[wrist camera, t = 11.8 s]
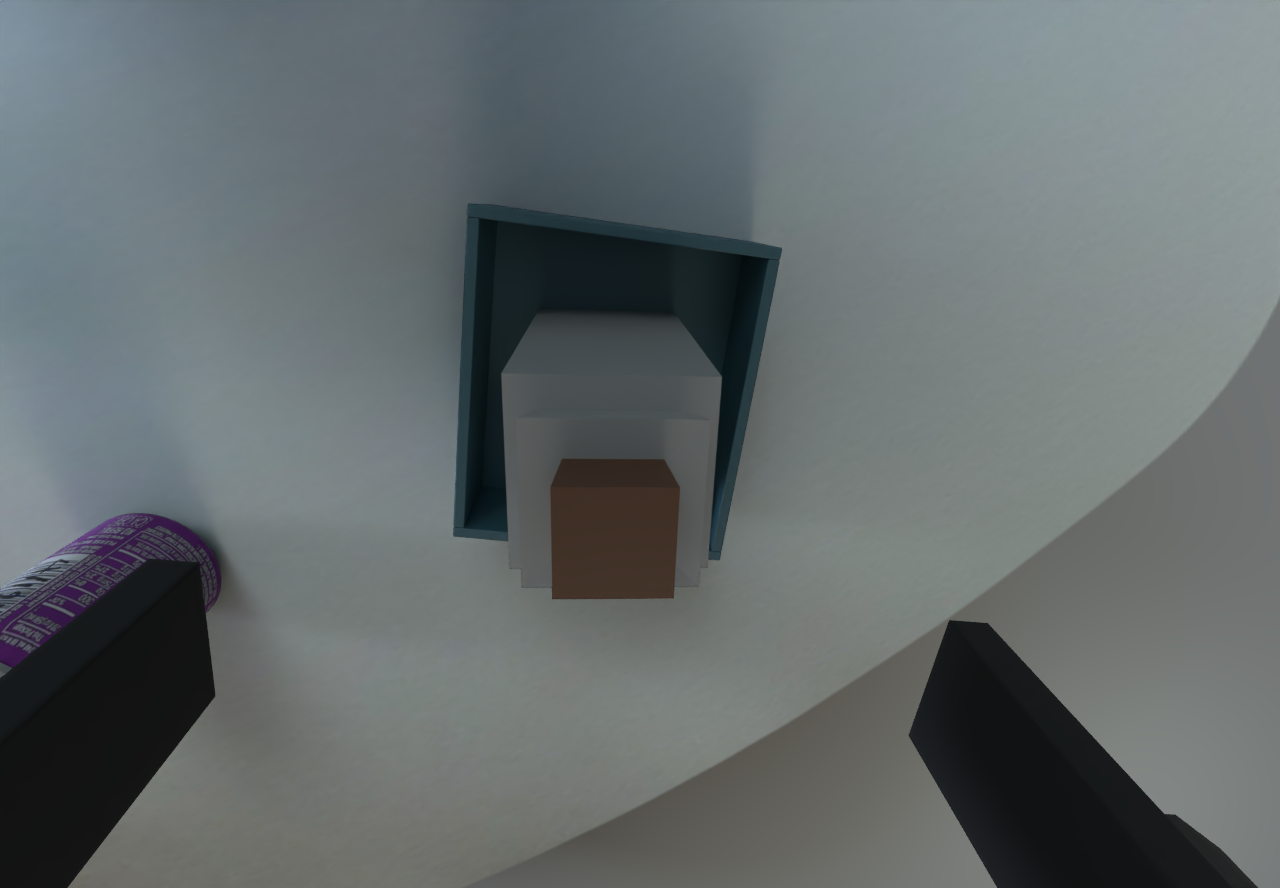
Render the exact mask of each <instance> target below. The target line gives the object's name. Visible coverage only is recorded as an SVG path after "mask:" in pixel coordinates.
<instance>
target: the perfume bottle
mask: <svg viewBox="0 0 1280 888" xmlns="http://www.w3.org/2000/svg"><path fill="white" fill-rule="evenodd" d="M501 379H502V402H503V426H504V449H505V472H506V496H507V519H508V542H509V565H510V569H521V580H522V588H552V599H647V598H674V587H699V578H700V568H707V567H708V554H709V541H710V528H711V515H712V502H713V489H714V476H715V463H716V450H717V437H718V424H719V411H720V398H721V385H722V376H721V375H720V373H719V372H718V371H717V369H716V368H715V367H714V365H713V364H712V363H711V361H710V360H709V359H708V357H707V356H706V355H705V353H704V352H703V351H702V349H701V348H700V346H699V345H698V344H697V342H696V341H695V340H694V338H693V337H692V336H691V334H690V333H689V332H688V330H687V329H686V328H685V326H684V325H683V324H682V322H681V321H680V320H679V318H678V317H677V315H676V314H675V313H674V312H656V311H612V310H568V309H539V310H538V312H537V314H536V315H535V317H534V319H533V321H532V322H531V324H530V326H529V327H528V329H527V331H526V332H525V334H524V336H523V337H522V339H521V341H520V343H519V344H518V346H517V348H516V349H515V351H514V353H513V354H512V356H511V358H510V359H509V361H508V363H507V365H506V366H505V368H504V370H503V371H502V373H501Z"/></svg>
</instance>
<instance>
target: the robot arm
mask: <svg viewBox="0 0 1280 888" xmlns="http://www.w3.org/2000/svg"><path fill="white" fill-rule="evenodd" d="M214 697H215V688H214V680H213V671H212V663H211V655H210V646H209V638H208V629H207V621H206V613H205V604H204V596H203V587H202V579H201V571H200V562H187V561H174V560H162V559H149V560H147V561H146V562H145V563H144V564H142V565H141V566H140V567H139V568H137V569H136V570H135V571H134V572H132V573H131V574H130V575H129V576H127V577H126V578H125V579H124V580H122V581H121V582H120V583H119V584H117V585H116V586H115V587H114V588H112V589H111V590H110V591H109V592H107V593H106V594H105V595H104V596H102V597H101V598H100V599H99V600H97V601H96V602H95V603H94V604H92V605H91V606H90V607H89V608H87V609H86V610H85V611H84V612H82V613H81V614H80V615H78V616H77V617H76V618H75V619H73V620H72V621H71V622H70V623H68V624H67V625H66V626H65V627H63V628H62V629H61V630H60V631H58V632H57V633H56V634H55V635H53V636H52V637H51V638H50V639H48V640H47V641H46V642H45V643H43V644H42V645H41V646H40V647H38V648H37V649H36V650H35V651H33V652H32V653H31V654H30V655H28V656H27V657H26V658H25V659H23V660H22V661H21V662H20V663H18V664H17V665H16V666H15V667H13V668H12V669H11V670H10V671H8V672H7V673H6V674H5V675H3V676H2V677H1V678H0V888H67V887H68V886H69V885H70V884H71V882H72V881H73V880H74V878H75V877H76V876H77V875H78V873H79V872H80V871H81V869H82V868H83V867H84V865H85V864H86V863H87V862H88V860H89V859H90V858H91V856H92V855H93V854H94V853H95V851H96V850H97V849H98V847H99V846H100V845H101V843H102V842H103V841H104V840H105V838H106V837H107V836H108V834H109V833H110V832H111V830H112V829H113V828H114V827H115V825H116V824H117V823H118V821H119V820H120V819H121V818H122V816H123V815H124V814H125V812H126V811H127V810H128V808H129V807H130V806H131V805H132V803H133V802H134V801H135V799H136V798H137V797H138V796H139V794H140V793H141V792H142V790H143V789H144V788H145V786H146V785H147V784H148V783H149V781H150V780H151V779H152V777H153V776H154V775H155V774H156V772H157V771H158V770H159V768H160V767H161V766H162V764H163V763H164V762H165V761H166V759H167V758H168V757H169V755H170V754H171V753H172V752H173V750H174V749H175V748H176V746H177V745H178V744H179V742H180V741H181V740H182V739H183V737H184V736H185V735H186V733H187V732H188V731H189V730H190V728H191V727H192V726H193V724H194V723H195V722H196V720H197V719H198V718H199V717H200V715H201V714H202V713H203V711H204V710H205V709H206V708H207V706H208V705H209V704H210V702H211V701H212V700H213V698H214ZM909 737H910V739H911V740H912V742H913V744H914V746H915V747H916V749H917V751H918V752H919V754H920V756H921V758H922V759H923V761H924V763H925V764H926V766H927V768H928V770H929V771H930V773H931V775H932V776H933V778H934V780H935V782H936V783H937V785H938V787H939V788H940V790H941V792H942V794H943V795H944V797H945V799H946V800H947V802H948V804H949V806H950V807H951V809H952V811H953V812H954V814H955V816H956V818H957V819H958V821H959V823H960V825H961V826H962V828H963V830H964V831H965V833H966V835H967V837H968V838H969V840H970V842H971V843H972V845H973V847H974V848H975V850H976V852H977V854H978V855H979V857H980V859H981V860H982V862H983V864H984V866H985V867H986V869H987V871H988V873H989V874H990V876H991V878H992V879H993V881H994V883H995V885H996V886H997V888H1258V887H1257V886H1256V885H1255V884H1254V883H1253V882H1252V881H1251V880H1250V879H1249V878H1248V877H1247V876H1246V875H1245V874H1244V873H1243V872H1242V871H1241V870H1240V869H1239V868H1238V866H1237V865H1236V864H1235V863H1234V862H1233V861H1232V860H1231V859H1230V858H1229V857H1228V856H1227V855H1226V854H1225V853H1224V852H1223V851H1222V850H1221V849H1220V848H1219V847H1217V846H1216V845H1215V844H1213V843H1212V842H1211V841H1209V840H1208V839H1207V838H1205V837H1204V836H1203V835H1201V834H1200V833H1199V832H1197V831H1196V830H1195V829H1194V828H1192V827H1191V826H1189V825H1188V824H1187V823H1186V822H1184V821H1183V820H1182V819H1180V818H1179V817H1178V816H1176V815H1170V814H1164V813H1163V812H1162V811H1161V810H1160V809H1159V808H1158V807H1157V806H1156V805H1155V804H1154V802H1153V801H1152V800H1151V799H1150V798H1149V797H1148V796H1147V795H1146V794H1145V793H1144V792H1143V790H1142V789H1141V788H1140V787H1139V786H1138V785H1137V784H1136V783H1135V782H1134V781H1133V780H1132V779H1131V778H1130V776H1129V775H1128V774H1127V773H1126V772H1125V771H1124V770H1123V769H1122V768H1121V767H1120V766H1119V765H1118V763H1116V761H1115V760H1114V759H1113V758H1112V757H1111V756H1110V755H1109V754H1108V753H1107V752H1106V751H1105V749H1104V748H1103V747H1102V746H1101V745H1100V744H1099V743H1098V742H1097V741H1096V740H1095V739H1094V738H1093V736H1092V735H1091V734H1090V733H1089V732H1088V731H1087V730H1086V729H1085V728H1084V727H1083V726H1082V725H1081V723H1080V722H1079V721H1078V720H1077V719H1076V718H1075V717H1074V716H1073V715H1072V714H1071V713H1070V712H1069V711H1068V710H1067V708H1066V707H1065V706H1064V705H1063V704H1062V703H1061V702H1060V701H1059V700H1058V699H1057V698H1056V697H1055V695H1054V694H1053V693H1052V692H1051V691H1050V690H1049V689H1048V688H1047V687H1046V686H1045V685H1044V684H1043V682H1042V681H1041V680H1040V679H1039V678H1038V677H1037V676H1036V675H1035V674H1034V673H1033V672H1032V671H1031V669H1030V668H1029V667H1027V665H1026V664H1025V663H1024V662H1023V661H1022V660H1021V659H1020V658H1019V657H1018V655H1017V654H1016V653H1015V652H1014V651H1013V650H1012V649H1011V648H1010V647H1009V646H1008V645H1007V644H1006V642H1005V641H1003V639H1002V638H1001V637H1000V636H999V635H998V634H997V633H996V632H995V631H994V630H993V628H992V627H990V625H989V624H988V623H978V622H965V621H952V620H950V621H949V622H948V625H947V628H946V631H945V634H944V637H943V639H942V642H941V645H940V648H939V651H938V654H937V656H936V659H935V662H934V665H933V668H932V671H931V674H930V676H929V679H928V682H927V685H926V688H925V690H924V693H923V696H922V699H921V702H920V705H919V708H918V711H917V713H916V716H915V719H914V722H913V725H912V727H911V731H910V733H909Z"/></svg>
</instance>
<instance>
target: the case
mask: <svg viewBox="0 0 1280 888" xmlns="http://www.w3.org/2000/svg"><path fill="white" fill-rule="evenodd" d="M467 216H468V217H467V228H466V251H465V274H464V297H463V320H462V343H461V366H460V389H459V412H458V435H457V458H456V481H455V504H454V528H453V536H455V537H466V538H478V539H489V540H500V541H508V519H507V496H506V472H505V449H504V426H503V402H502V379H501V373H502V371H503V370H504V368H505V366H506V365H507V363H508V361H509V359H510V358H511V356H512V354H513V353H514V351H515V349H516V348H517V346H518V344H519V343H520V341H521V339H522V337H523V336H524V334H525V332H526V331H527V329H528V327H529V326H530V324H531V322H532V321H533V319H534V317H535V315H536V314H537V312H538V310H539V309H568V310H612V311H656V312H674V313H675V314H676V315H677V317H678V318H679V320H680V321H681V322H682V324H683V325H684V326H685V328H686V329H687V330H688V332H689V333H690V334H691V336H692V337H693V338H694V340H695V341H696V342H697V344H698V345H699V346H700V348H701V349H702V351H703V352H704V353H705V355H706V356H707V357H708V359H709V360H710V361H711V363H712V364H713V365H714V367H715V368H716V369H717V371H718V372H719V373H720V375H721V376H722V385H721V398H720V411H719V424H718V437H717V450H716V463H715V476H714V489H713V502H712V515H711V528H710V541H709V554H708V559H710V560H720V555H721V550H722V545H723V540H724V535H725V530H726V525H727V520H728V515H729V510H730V505H731V500H732V495H733V490H734V485H735V480H736V475H737V470H738V465H739V460H740V455H741V450H742V445H743V441H744V436H745V431H746V426H747V421H748V416H749V411H750V406H751V401H752V396H753V391H754V386H755V381H756V376H757V371H758V366H759V361H760V356H761V351H762V346H763V341H764V336H765V331H766V326H767V321H768V316H769V311H770V306H771V301H772V296H773V291H774V286H775V281H776V276H777V271H778V266H779V260H780V256H781V251H782V248H779V247H774V246H770V245H765V244H760V243H755V242H750V241H743V240H736V239H729V238H722V237H715V236H708V235H701V234H694V233H687V232H680V231H673V230H666V229H659V228H652V227H645V226H638V225H631V224H624V223H617V222H610V221H603V220H596V219H589V218H582V217H575V216H568V215H561V214H554V213H547V212H540V211H533V210H526V209H519V208H512V207H505V206H498V205H490V204H468V205H467Z"/></svg>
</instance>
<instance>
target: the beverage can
mask: <svg viewBox="0 0 1280 888" xmlns="http://www.w3.org/2000/svg"><path fill="white" fill-rule="evenodd" d="M149 559H162V560H174V561H187V562H200V571H201V579H202V587H203V596H204V604H205V613H207V612H208V611H209V610H210V609H211V607H212V606H213V605H214V603H215V602H216V600H217V598H218V596H219V592H220V588H221V573H220V569H219V565H218V563H217V560H216V558H215V556H214V554H213V553H212V551H211V550H210V548H209V547H208V546H207V545H206V543H205V542H204V541H203V540H202V539H201V538H200V537H199V536H198V535H196V534H195V533H194V532H193V531H191V530H190V529H188V528H187V527H185V526H183V525H181V524H180V523H178V522H175V521H173V520H171V519H168V518H165V517H161V516H157V515H152V514H143V513H134V514H125V515H120V516H117V517H114V518H111V519H109V520H107V521H105V522H103V523H102V524H100V525H99V526H97V527H96V528H94V529H92V530H91V531H89V532H88V533H86V534H84V535H83V536H81V537H80V538H78V539H77V540H75V541H73V542H72V543H70V544H69V545H67V546H65V547H64V548H62V549H61V550H59V551H58V552H56V553H54V554H53V555H51V556H50V557H48V558H46V559H45V560H43V561H42V562H40V563H39V564H37V565H35V566H34V567H32V568H31V569H29V570H27V571H26V572H24V573H23V574H21V575H20V576H18V577H16V578H15V579H13V580H12V581H10V582H9V583H7V584H5V585H4V586H2V587H1V588H0V678H1V677H2V676H3V675H5V674H6V673H7V672H8V671H10V670H11V669H12V668H13V667H15V666H16V665H17V664H18V663H20V662H21V661H22V660H23V659H25V658H26V657H27V656H28V655H30V654H31V653H32V652H33V651H35V650H36V649H37V648H38V647H40V646H41V645H42V644H43V643H45V642H46V641H47V640H48V639H50V638H51V637H52V636H53V635H55V634H56V633H57V632H58V631H60V630H61V629H62V628H63V627H65V626H66V625H67V624H68V623H70V622H71V621H72V620H73V619H75V618H76V617H77V616H78V615H80V614H81V613H82V612H84V611H85V610H86V609H87V608H89V607H90V606H91V605H92V604H94V603H95V602H96V601H97V600H99V599H100V598H101V597H102V596H104V595H105V594H106V593H107V592H109V591H110V590H111V589H112V588H114V587H115V586H116V585H117V584H119V583H120V582H121V581H122V580H124V579H125V578H126V577H127V576H129V575H130V574H131V573H132V572H134V571H135V570H136V569H137V568H139V567H140V566H141V565H142V564H144V563H145V562H146V561H147V560H149Z"/></svg>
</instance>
